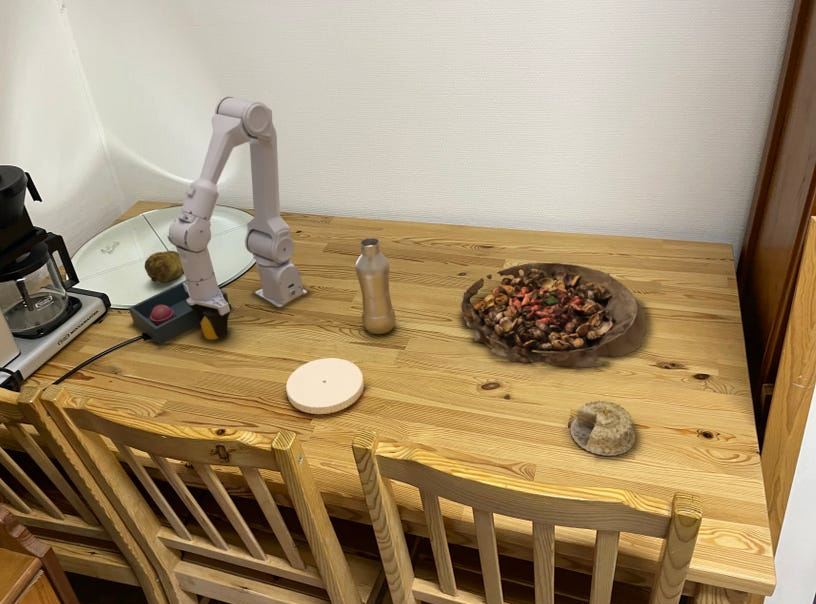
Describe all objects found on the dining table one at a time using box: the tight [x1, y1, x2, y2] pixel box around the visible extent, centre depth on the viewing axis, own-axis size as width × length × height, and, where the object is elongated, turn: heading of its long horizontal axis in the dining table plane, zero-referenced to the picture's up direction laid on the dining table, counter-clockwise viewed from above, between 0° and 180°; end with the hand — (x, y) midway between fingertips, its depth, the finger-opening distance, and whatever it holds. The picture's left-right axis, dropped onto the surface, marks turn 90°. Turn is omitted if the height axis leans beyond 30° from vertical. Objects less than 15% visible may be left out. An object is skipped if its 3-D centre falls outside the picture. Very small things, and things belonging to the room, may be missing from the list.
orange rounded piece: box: [200, 316, 219, 340], centre depth 151 cm, size 5×5×6 cm
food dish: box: [460, 262, 648, 369], centre depth 141 cm, size 35×33×8 cm
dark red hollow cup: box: [150, 305, 175, 326], centre depth 155 cm, size 5×5×5 cm
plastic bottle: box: [354, 237, 397, 335], centre depth 142 cm, size 6×7×20 cm
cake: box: [569, 400, 636, 457], centre depth 114 cm, size 10×10×5 cm
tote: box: [128, 279, 230, 346], centre depth 158 cm, size 12×17×5 cm
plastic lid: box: [285, 357, 365, 415], centre depth 132 cm, size 14×14×2 cm
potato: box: [144, 250, 184, 283], centre depth 173 cm, size 8×13×8 cm, turn 154°
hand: (214, 330), depth 152 cm, fingers open, 5 cm apart
